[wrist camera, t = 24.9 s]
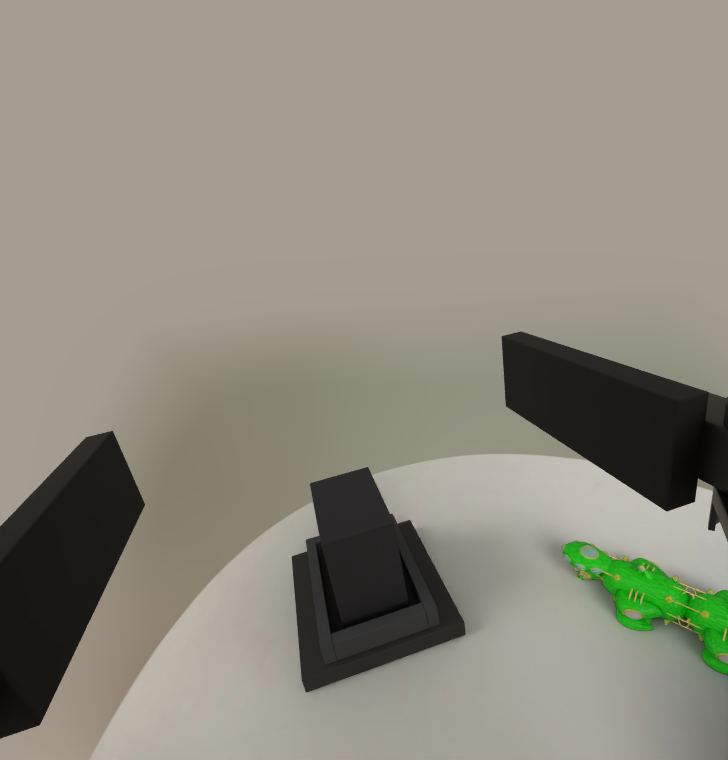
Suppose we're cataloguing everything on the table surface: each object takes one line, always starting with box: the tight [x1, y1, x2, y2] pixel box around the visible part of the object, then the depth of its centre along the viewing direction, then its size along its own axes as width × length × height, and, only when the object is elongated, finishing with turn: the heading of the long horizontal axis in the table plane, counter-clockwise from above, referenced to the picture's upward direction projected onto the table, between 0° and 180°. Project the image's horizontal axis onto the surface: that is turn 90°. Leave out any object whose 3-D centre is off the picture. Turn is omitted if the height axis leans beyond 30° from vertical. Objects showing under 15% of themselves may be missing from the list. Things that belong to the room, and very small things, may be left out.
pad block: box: [310, 467, 409, 629], centre depth 38 cm, size 6×9×10 cm, turn 13°
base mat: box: [292, 514, 465, 692], centre depth 40 cm, size 14×14×4 cm
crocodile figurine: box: [562, 541, 728, 675], centre depth 32 cm, size 7×18×4 cm, turn 45°
